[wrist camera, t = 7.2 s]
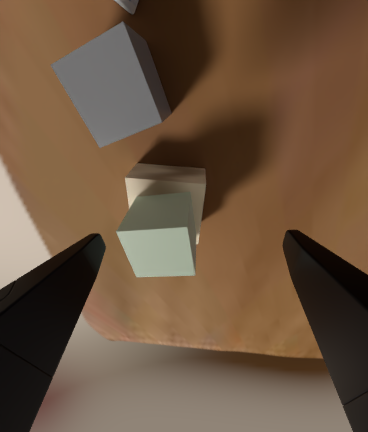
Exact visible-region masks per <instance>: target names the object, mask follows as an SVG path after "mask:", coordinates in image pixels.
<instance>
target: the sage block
mask: <svg viewBox="0 0 368 432" xmlns="http://www.w3.org/2000/svg"><path fill="white" fill-rule="evenodd" d="M116 232H117V235H118V237H119V239H120V241H121V244H122V246H123V248H124V250H125V253H126V255H127V257H128V259H129V261H130V264H131V266H132V268H133V270H134V273H135V275H136V277H158V276H193V275H195V266H196V229H195V221H194V214H193V206H192V199H191V192H183V193H172V194H161V195H150V196H140V197H136V198H135V200H134V202H133V204H132V205H131V207H130V209H129V211H128V212H127V214H126V216H125V217H124V219H123V221H122V223H121V224H120V226H119V228H118V230H117V231H116Z"/></svg>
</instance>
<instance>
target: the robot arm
mask: <svg viewBox="0 0 368 432" xmlns="http://www.w3.org/2000/svg"><path fill="white" fill-rule="evenodd" d="M105 249H106V246H105V243H104V241H103V239H102V237H101V235H100V234H98V233H93V234H90V235H88V236H86V237H85V238H83V239H81V240H80V241H78V242H77V243H75V244H73V245H72V246H70V247H68V248H67V249H65V250H64V251H62V252H60V253H59V254H57V255H55V256H54V257H52V258H51V259H49V260H47V261H46V262H44V263H43V264H41V265H39V266H38V267H36V268H34V269H33V270H31V271H30V272H28V273H26V274H25V275H23V276H21V277H20V278H18V279H17V280H16V281H13V282H12V283H10V284H8V285H7V286H5V287H3V288H2V289H1V290H0V432H29V431H30V429H31V427H32V424H33V422H34V420H35V417H36V415H37V413H38V411H39V408H40V406H41V404H42V401H43V399H44V397H45V395H46V392H47V390H48V388H49V385H50V383H51V381H52V378H53V376H54V374H55V371H56V369H57V367H58V364H59V362H60V359H61V357H62V355H63V353H64V351H65V348H66V346H67V344H68V341H69V339H70V337H71V335H72V332H73V330H74V328H75V325H76V323H77V321H78V319H79V316H80V314H81V312H82V309H83V307H84V305H85V302H86V300H87V298H88V296H89V293H90V291H91V289H92V286H93V284H94V282H95V279H96V277H97V274H98V271H99V268H100V265H101V262H102V259H103V256H104V252H105ZM283 250H284V254H285V258H286V261H287V265H288V269H289V273H290V276H291V279H292V282H293V284H294V287H295V289H296V292H297V294H298V297H299V299H300V302H301V304H302V307H303V309H304V312H305V314H306V317H307V319H308V321H309V324H310V326H311V329H312V331H313V334H314V336H315V339H316V341H317V344H318V346H319V349H320V351H321V353H322V356H323V358H324V361H325V363H326V366H327V368H328V371H329V373H330V376H331V378H332V380H333V383H334V386H335V388H336V390H337V393H338V395H339V398H340V400H341V403H342V405H344V406H343V408H344V411H345V413H346V416H347V418H348V420H349V423H350V425H351V428H352V430H353V432H368V275H367V274H366V273H364V272H362V271H361V270H359V269H358V268H356V267H355V266H353V265H351V264H350V263H348V262H347V261H345V260H344V259H342V258H341V257H339V256H337V255H336V254H334V253H333V252H331V251H330V250H328V249H327V248H325V247H323V246H322V245H320V244H319V243H317V242H316V241H314V240H313V239H311V238H309V237H308V236H306V235H305V234H303V233H302V232H300V231H298V230H287V231H286V233H285V237H284V241H283Z"/></svg>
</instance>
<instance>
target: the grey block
mask: <svg viewBox="0 0 368 432" xmlns="http://www.w3.org/2000/svg"><path fill="white" fill-rule="evenodd" d="M51 67H52V68H53V70H54V72H55V73H56V75H57V77H58V78H59V80H60V82H61V84H62V85H63V87H64V89H65V90H66V92H67V94H68V95H69V97H70V99H71V100H72V102H73V104H74V105H75V107H76V109H77V110H78V112H79V114H80V115H81V117H82V119H83V120H84V122H85V124H86V126H87V127H88V129H89V131H90V132H91V134H92V136H93V137H94V139H95V141H96V142H97V144H98V146H99V147H100V148H101V147H103V146H106V145H108V144H111V143H113V142H115V141H118V140H120V139H123V138H125V137H128V136H130V135H132V134H135V133H137V132H140V131H142V130H145V129H147V128H150V127H152V126H154V125H157V124H159V123H162V122H163V121H164V120H165V119H166V118H167V117H168V116H170V115H171V114H172V113H171V110H170V107H169V104H168V101H167V98H166V96H165V93H164V90H163V87H162V84H161V81H160V79H159V76H158V73H157V70H156V67H155V64H154V62H153V59H152V56H151V53H150V50H149V48H148V45H147V42H146V40H145V39H144V38H142V37H141V36H140V35H139V34H138V33H136V32H135V31H134V30H133V29H132V28H130V27H129V26H128V25H127V24H126V23H124V22H121V23H120V24H118V25H116V26H115V27H113V28H111V29H110V30H108V31H106V32H105V33H103V34H101V35H100V36H98V37H96V38H95V39H93V40H91V41H90V42H88V43H86V44H85V45H83V46H81V47H80V48H78V49H76V50H75V51H73V52H71V53H70V54H68V55H66V56H65V57H63V58H61V59H60V60H58V61H56V62H55V63H53V64H51Z"/></svg>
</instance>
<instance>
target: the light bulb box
mask: <svg viewBox="0 0 368 432" xmlns="http://www.w3.org/2000/svg"><path fill="white" fill-rule="evenodd" d="M114 1H116V2H117V3H118V4H119V5H120V6H122V7H123V8H124V9H125V10H126V11H128V12H129V13H131V14H134V13H135V10H136V7H137V4H138V1H139V0H114Z"/></svg>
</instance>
